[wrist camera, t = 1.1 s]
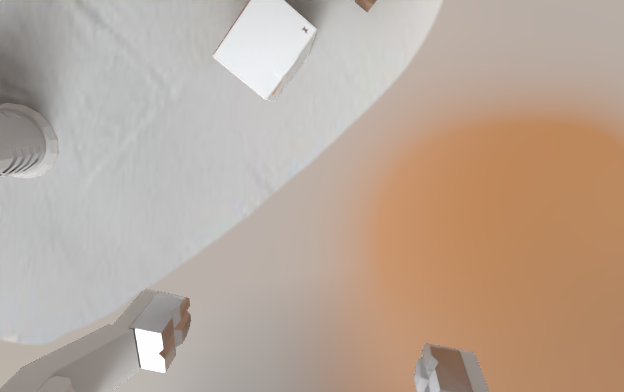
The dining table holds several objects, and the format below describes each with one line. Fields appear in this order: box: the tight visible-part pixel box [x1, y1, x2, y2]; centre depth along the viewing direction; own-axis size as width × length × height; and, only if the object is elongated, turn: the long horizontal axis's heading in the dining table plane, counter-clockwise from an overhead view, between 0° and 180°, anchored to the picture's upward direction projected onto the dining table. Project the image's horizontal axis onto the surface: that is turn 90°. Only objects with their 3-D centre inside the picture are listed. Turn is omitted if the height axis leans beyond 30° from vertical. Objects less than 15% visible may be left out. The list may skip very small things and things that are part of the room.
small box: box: [212, 0, 317, 102], centre depth 36 cm, size 8×6×13 cm
